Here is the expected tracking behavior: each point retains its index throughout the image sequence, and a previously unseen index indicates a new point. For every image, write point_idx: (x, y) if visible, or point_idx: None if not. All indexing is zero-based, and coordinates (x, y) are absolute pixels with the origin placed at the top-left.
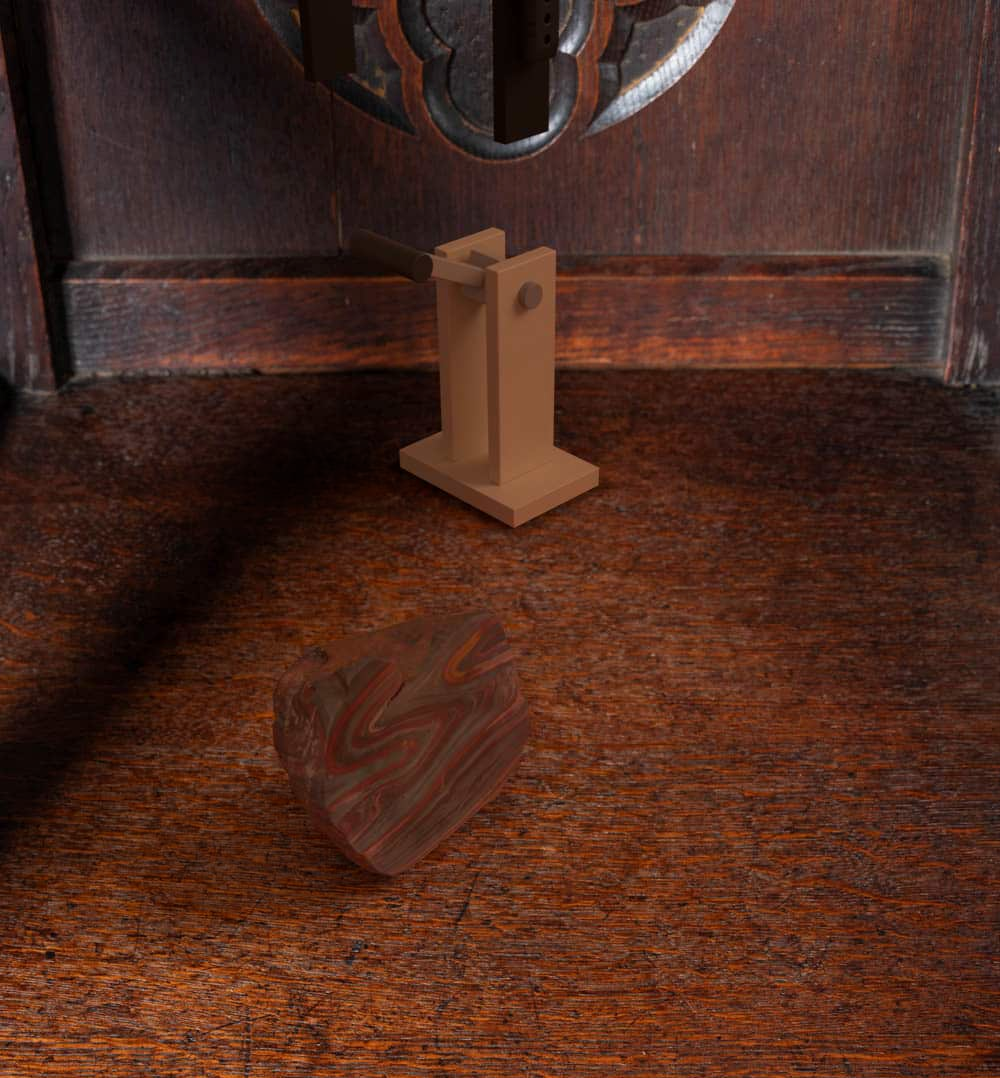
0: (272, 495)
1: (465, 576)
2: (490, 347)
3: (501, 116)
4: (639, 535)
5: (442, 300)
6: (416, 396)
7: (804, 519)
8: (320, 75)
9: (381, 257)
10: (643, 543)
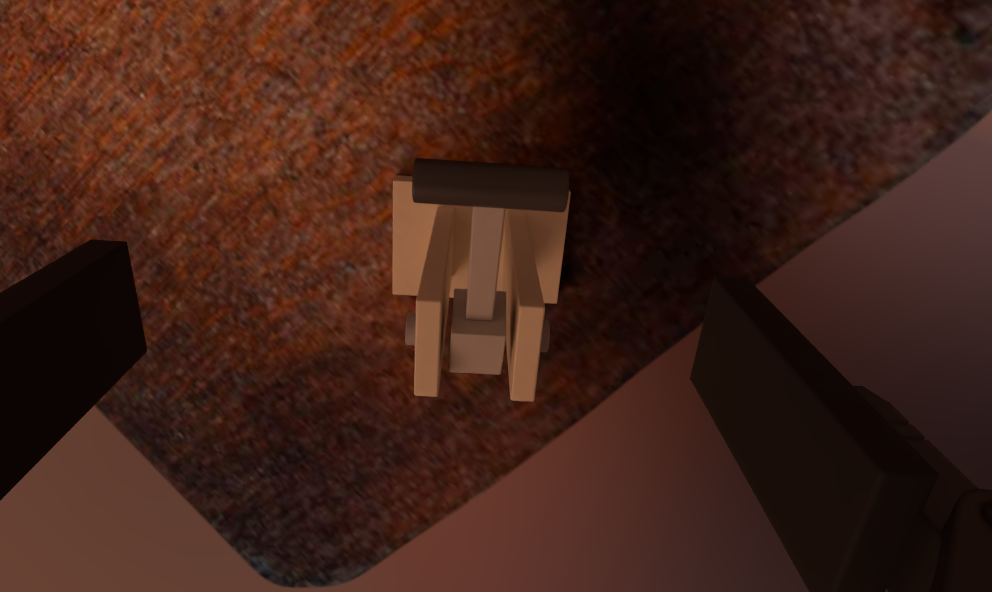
0: (636, 51)
1: (364, 75)
2: (439, 259)
3: (70, 260)
4: (304, 244)
5: (527, 278)
6: (658, 301)
7: (226, 355)
8: (713, 296)
9: (488, 165)
10: (291, 236)
